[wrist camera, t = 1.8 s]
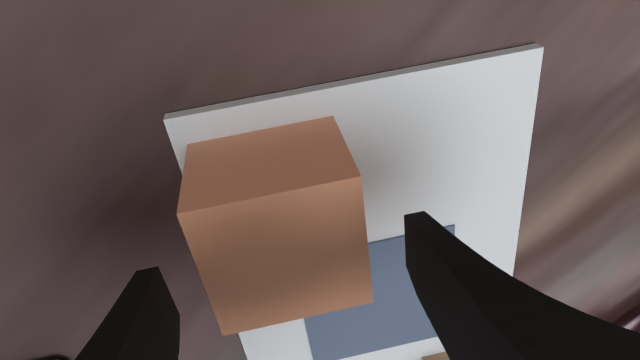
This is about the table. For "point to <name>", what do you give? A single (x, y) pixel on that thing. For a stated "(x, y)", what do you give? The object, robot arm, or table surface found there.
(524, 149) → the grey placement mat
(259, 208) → the terracotta block
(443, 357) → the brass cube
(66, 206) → the table surface
